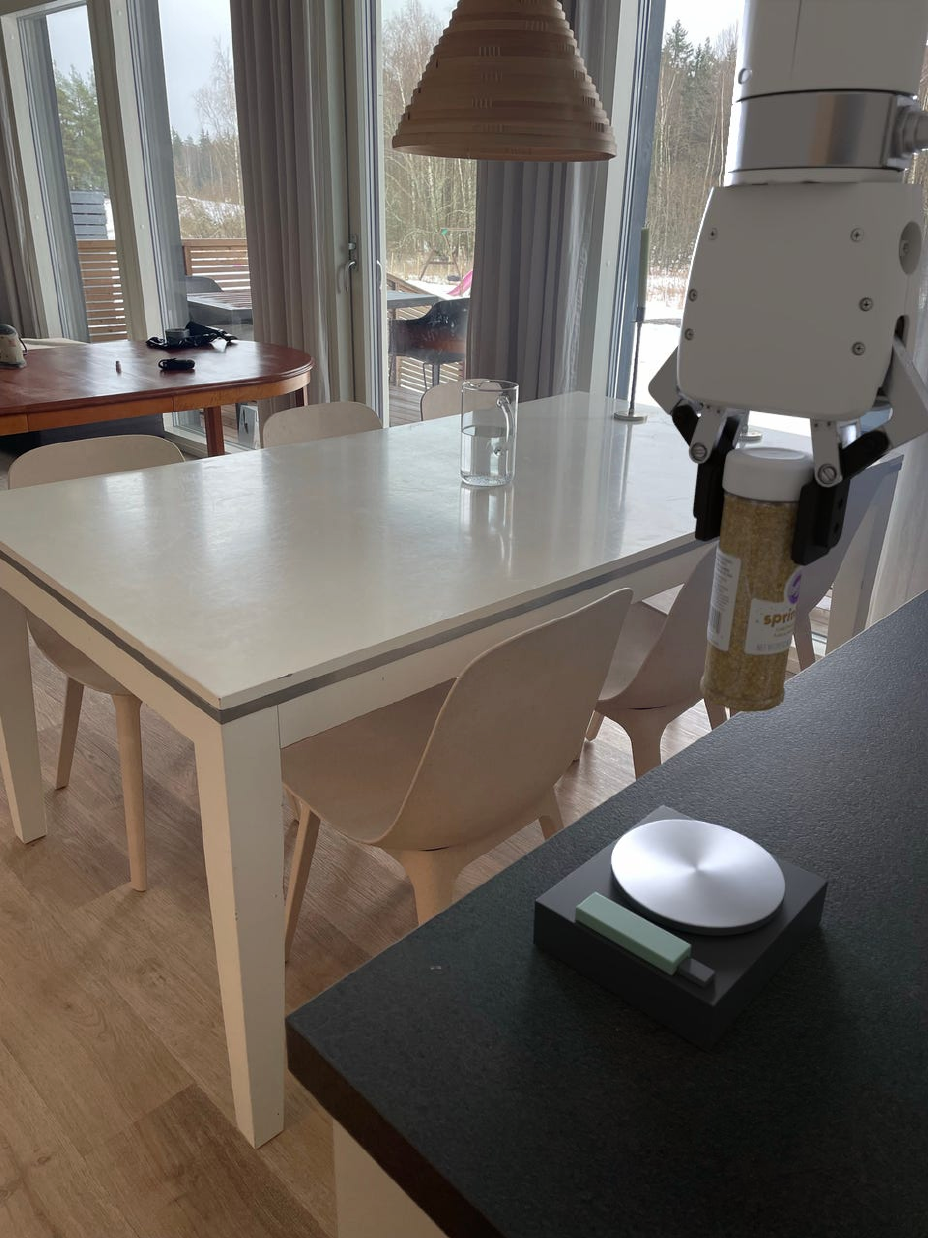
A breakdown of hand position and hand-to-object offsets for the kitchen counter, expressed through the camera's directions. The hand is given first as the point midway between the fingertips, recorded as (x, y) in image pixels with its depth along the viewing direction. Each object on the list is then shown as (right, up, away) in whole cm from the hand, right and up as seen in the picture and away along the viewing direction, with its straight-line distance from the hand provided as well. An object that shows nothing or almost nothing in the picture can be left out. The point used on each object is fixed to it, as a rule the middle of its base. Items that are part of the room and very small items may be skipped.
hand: (761, 543), depth 48 cm
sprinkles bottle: (0, -8, +3) cm, 9 cm away
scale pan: (-2, -19, +5) cm, 19 cm away
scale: (-3, -22, +5) cm, 23 cm away
